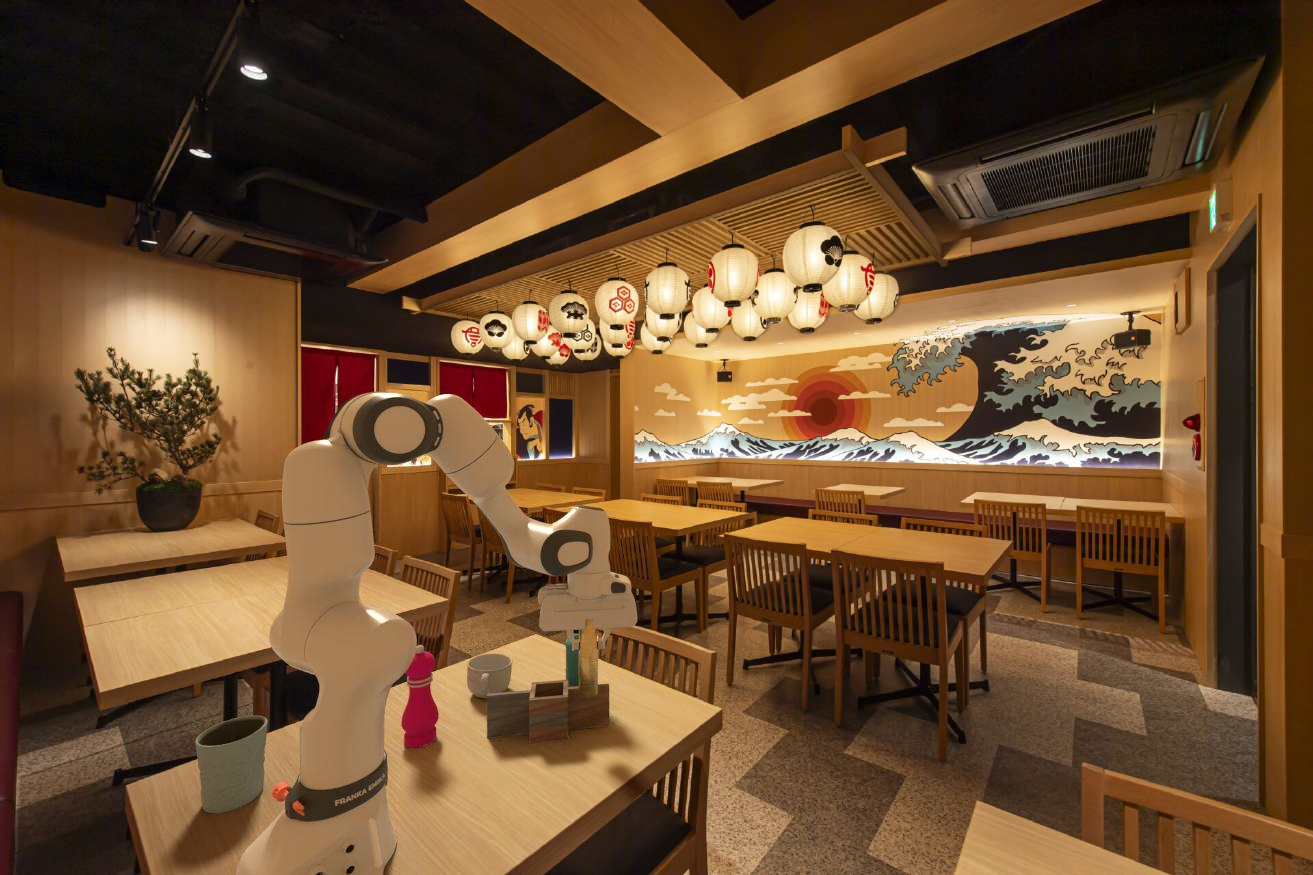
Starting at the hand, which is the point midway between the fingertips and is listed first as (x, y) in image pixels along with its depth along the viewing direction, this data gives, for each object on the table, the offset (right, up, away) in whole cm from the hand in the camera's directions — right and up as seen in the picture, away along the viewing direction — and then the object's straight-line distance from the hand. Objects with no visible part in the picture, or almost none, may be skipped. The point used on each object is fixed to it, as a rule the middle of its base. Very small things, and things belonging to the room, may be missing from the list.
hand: (588, 648), depth 110 cm
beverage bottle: (-4, -20, +15) cm, 25 cm away
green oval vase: (-62, -20, -16) cm, 67 cm away
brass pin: (0, -9, 0) cm, 9 cm away
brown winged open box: (-9, -20, +5) cm, 22 cm away
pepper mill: (-36, -20, +2) cm, 41 cm away
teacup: (-27, -20, +20) cm, 39 cm away
